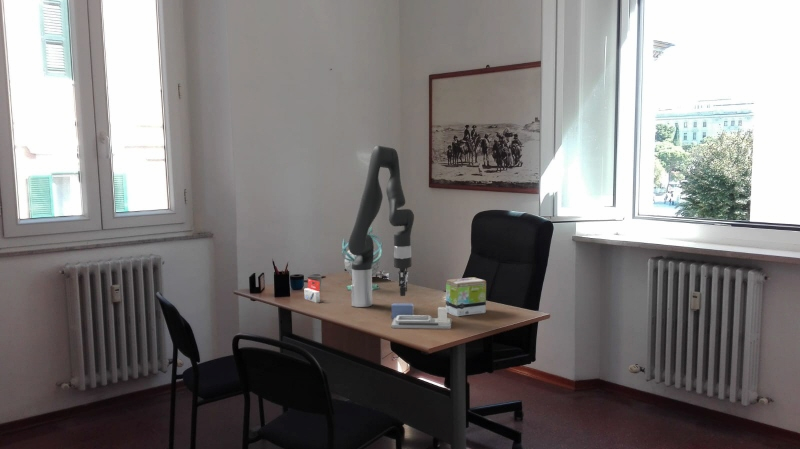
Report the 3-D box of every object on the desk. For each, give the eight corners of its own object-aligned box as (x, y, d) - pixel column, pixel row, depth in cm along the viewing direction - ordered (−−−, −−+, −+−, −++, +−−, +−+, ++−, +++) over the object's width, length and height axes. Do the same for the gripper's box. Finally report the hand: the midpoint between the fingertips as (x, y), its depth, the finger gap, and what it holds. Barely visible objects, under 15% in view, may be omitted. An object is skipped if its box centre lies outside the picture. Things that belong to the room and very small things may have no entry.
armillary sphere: (359, 280, 363) (360, 218, 357) (392, 290, 345) (394, 224, 339) (329, 287, 347) (329, 222, 342) (362, 297, 330) (363, 228, 324)
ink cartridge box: (316, 302, 312) (315, 282, 311) (304, 298, 321) (303, 279, 320) (320, 302, 314) (320, 281, 313) (308, 298, 322) (308, 278, 321)
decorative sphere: (386, 279, 366) (386, 244, 364) (355, 283, 355) (354, 247, 353) (368, 274, 383) (368, 240, 380) (338, 278, 372) (337, 243, 370)
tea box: (457, 317, 281) (457, 283, 279) (445, 312, 290) (445, 279, 288) (486, 313, 288) (486, 279, 286) (473, 308, 297) (473, 276, 295)
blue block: (391, 319, 280) (391, 305, 279) (392, 316, 284) (392, 303, 283) (412, 319, 279) (412, 305, 278) (413, 317, 283) (413, 303, 282)
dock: (391, 327, 265) (391, 310, 265) (394, 320, 277) (394, 304, 276) (450, 328, 263) (450, 311, 262) (451, 321, 275) (451, 304, 274)
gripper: (395, 253, 286) (396, 290, 288) (392, 258, 272) (393, 297, 274) (412, 253, 285) (413, 290, 287) (410, 258, 271) (411, 297, 273)
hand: (403, 293), depth 280 cm, fingers open, 8 cm apart
